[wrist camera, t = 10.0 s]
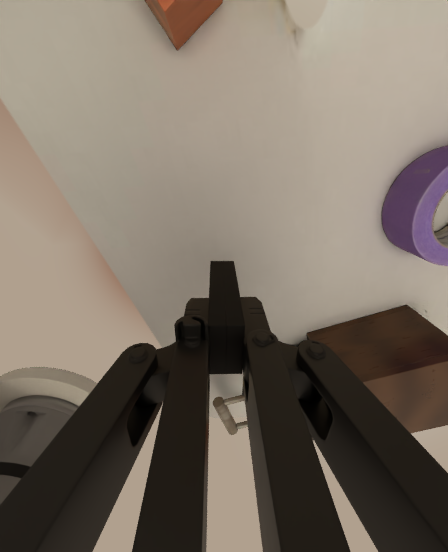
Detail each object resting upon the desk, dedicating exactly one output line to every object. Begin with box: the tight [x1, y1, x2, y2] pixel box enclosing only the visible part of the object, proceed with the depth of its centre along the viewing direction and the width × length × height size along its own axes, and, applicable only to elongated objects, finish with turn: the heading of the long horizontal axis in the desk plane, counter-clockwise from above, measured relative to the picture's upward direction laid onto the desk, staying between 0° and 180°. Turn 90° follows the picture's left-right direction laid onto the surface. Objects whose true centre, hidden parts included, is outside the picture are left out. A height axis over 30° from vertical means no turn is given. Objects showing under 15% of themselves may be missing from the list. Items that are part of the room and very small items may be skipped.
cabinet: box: [307, 305, 448, 433], centre depth 33 cm, size 15×13×10 cm
